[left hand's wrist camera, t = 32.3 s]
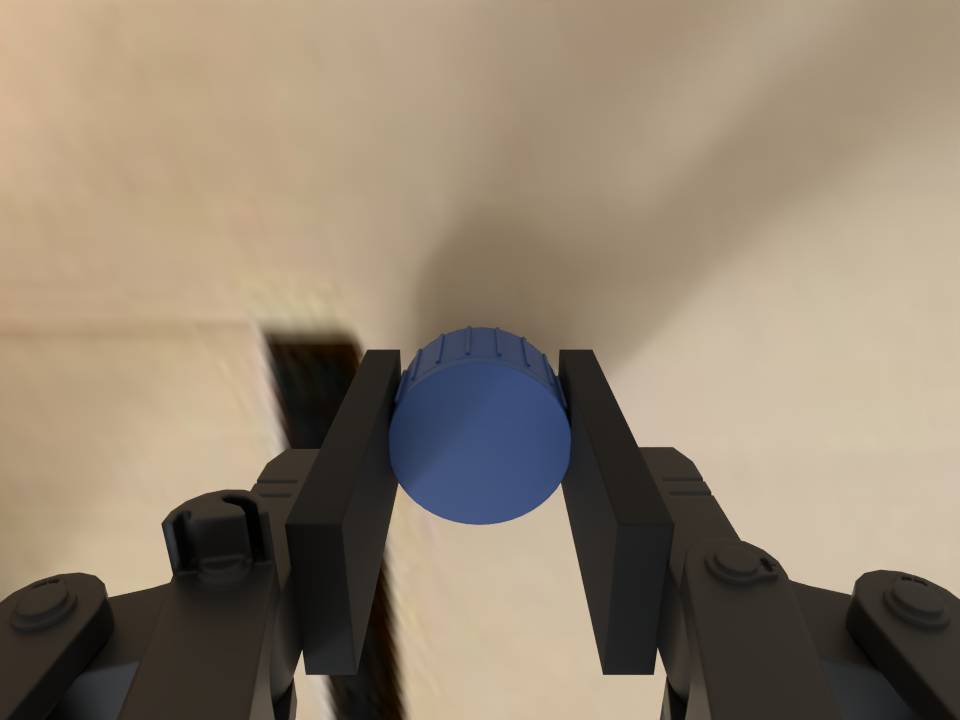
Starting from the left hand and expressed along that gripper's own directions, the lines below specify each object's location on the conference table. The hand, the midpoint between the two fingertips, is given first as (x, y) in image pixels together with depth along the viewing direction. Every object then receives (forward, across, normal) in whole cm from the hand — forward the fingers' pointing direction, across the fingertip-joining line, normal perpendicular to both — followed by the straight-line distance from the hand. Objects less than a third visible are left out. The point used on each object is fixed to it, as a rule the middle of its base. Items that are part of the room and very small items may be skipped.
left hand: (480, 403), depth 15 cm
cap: (-2, 0, 0) cm, 2 cm away
